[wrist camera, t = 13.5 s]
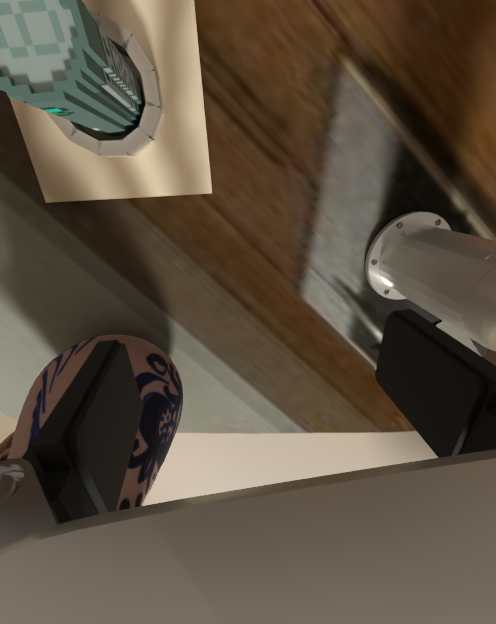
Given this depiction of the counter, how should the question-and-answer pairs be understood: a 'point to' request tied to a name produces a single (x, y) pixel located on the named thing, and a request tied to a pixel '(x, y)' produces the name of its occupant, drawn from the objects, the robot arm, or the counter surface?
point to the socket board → (176, 132)
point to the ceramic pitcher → (154, 421)
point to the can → (67, 65)
